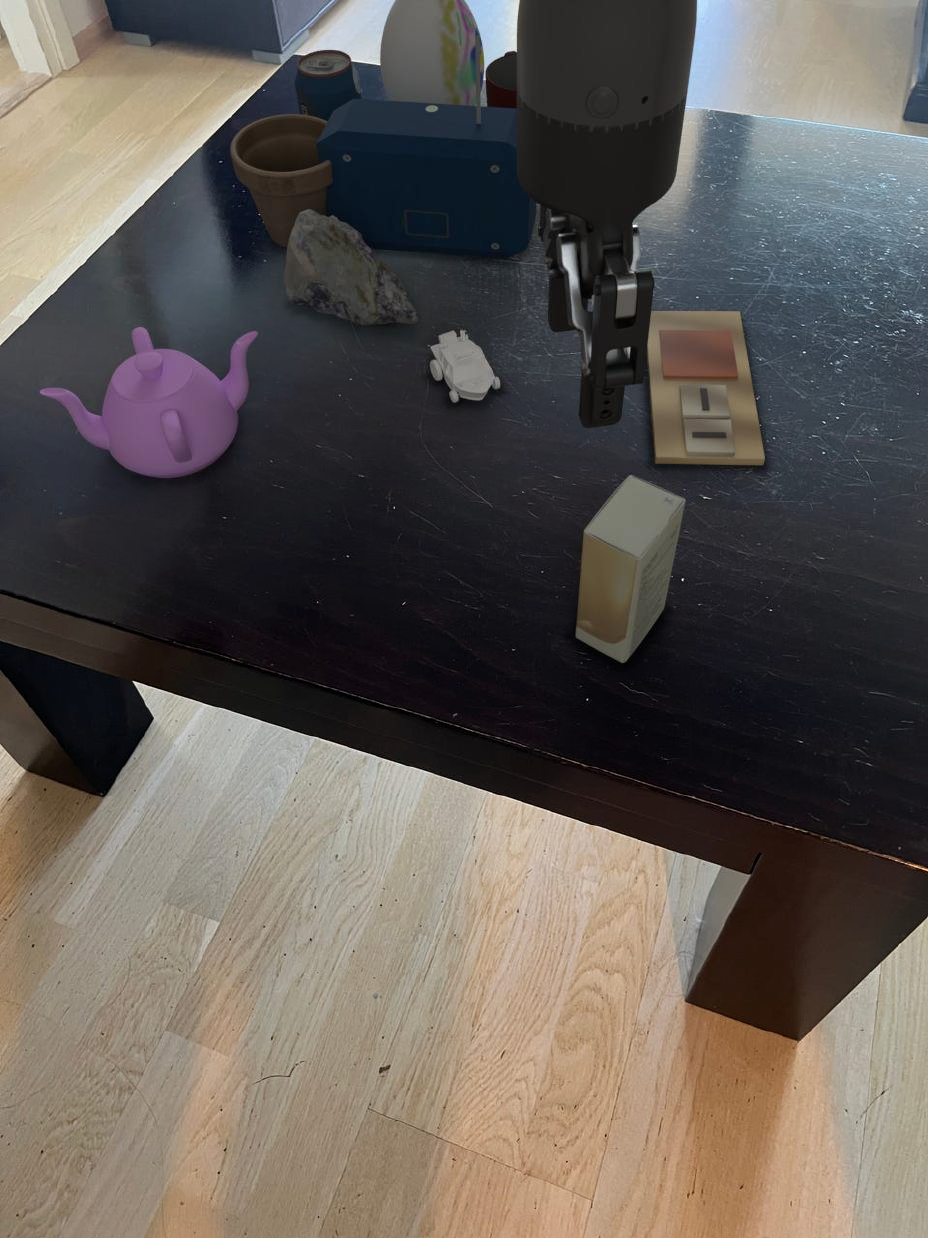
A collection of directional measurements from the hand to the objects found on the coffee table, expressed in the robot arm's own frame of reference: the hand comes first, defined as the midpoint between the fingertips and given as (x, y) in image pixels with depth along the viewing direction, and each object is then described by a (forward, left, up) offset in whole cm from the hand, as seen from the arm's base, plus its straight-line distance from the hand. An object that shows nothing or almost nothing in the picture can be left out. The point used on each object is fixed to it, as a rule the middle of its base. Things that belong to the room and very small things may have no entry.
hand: (582, 372), depth 56 cm
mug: (+5, -63, -22) cm, 67 cm away
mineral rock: (+21, -35, -22) cm, 47 cm away
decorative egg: (+16, -75, -22) cm, 80 cm away
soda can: (+26, -62, -22) cm, 71 cm away
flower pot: (+29, -49, -22) cm, 61 cm away
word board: (-12, -25, -22) cm, 36 cm away
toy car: (+9, -25, -22) cm, 35 cm away
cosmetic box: (-4, +2, -22) cm, 23 cm away
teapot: (+34, -17, -22) cm, 44 cm away
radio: (+14, -49, -22) cm, 56 cm away
